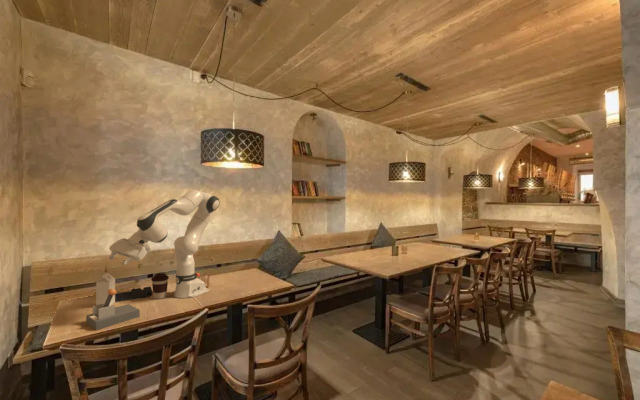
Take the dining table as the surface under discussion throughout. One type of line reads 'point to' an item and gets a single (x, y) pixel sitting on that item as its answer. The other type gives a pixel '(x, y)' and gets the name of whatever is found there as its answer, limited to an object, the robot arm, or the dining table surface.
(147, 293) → the dark slate chunk
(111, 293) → the toggle lever
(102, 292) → the milk carton
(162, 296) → the coffee cup
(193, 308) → the dining table surface
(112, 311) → the switch box
